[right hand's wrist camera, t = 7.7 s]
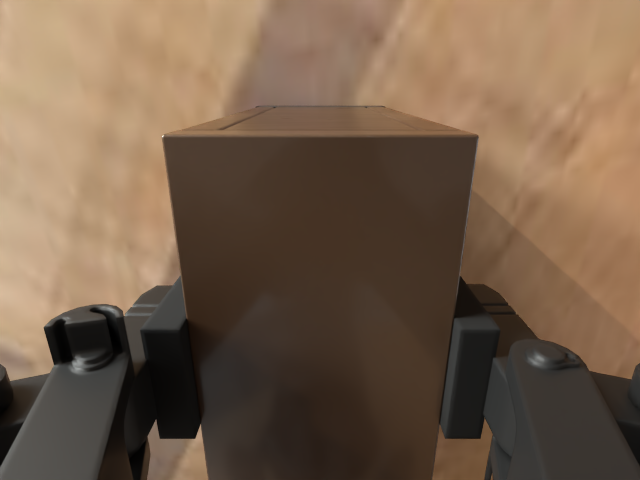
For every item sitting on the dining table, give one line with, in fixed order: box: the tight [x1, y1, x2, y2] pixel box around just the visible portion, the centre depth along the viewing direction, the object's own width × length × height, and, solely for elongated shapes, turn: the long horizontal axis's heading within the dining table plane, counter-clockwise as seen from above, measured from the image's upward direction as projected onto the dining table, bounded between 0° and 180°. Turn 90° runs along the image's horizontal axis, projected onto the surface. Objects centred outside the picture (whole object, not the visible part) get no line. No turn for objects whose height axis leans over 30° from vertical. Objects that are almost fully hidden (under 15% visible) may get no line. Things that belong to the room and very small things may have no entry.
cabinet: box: [162, 106, 479, 480], centre depth 15 cm, size 17×5×11 cm, turn 0°
